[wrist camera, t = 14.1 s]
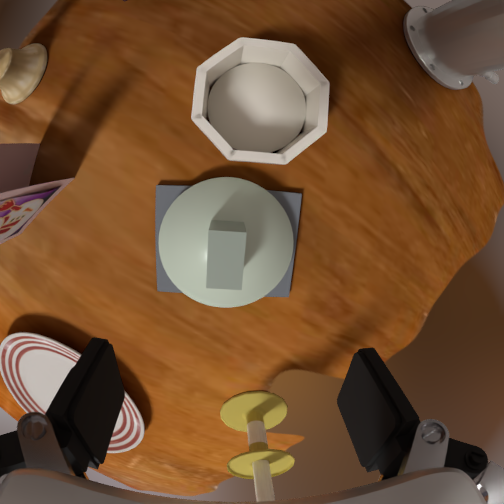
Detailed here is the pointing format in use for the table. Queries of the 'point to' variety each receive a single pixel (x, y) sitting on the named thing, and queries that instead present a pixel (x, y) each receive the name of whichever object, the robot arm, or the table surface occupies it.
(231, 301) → the lid
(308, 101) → the bowl
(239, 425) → the candle
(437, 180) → the table surface
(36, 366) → the dinner plate
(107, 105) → the table surface
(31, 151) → the greeting card
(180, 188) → the mat
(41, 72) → the hand bell
